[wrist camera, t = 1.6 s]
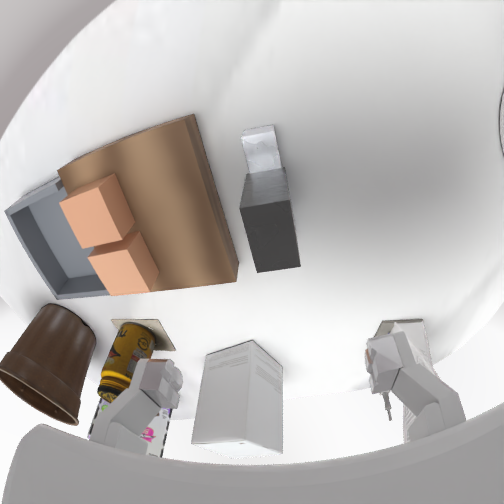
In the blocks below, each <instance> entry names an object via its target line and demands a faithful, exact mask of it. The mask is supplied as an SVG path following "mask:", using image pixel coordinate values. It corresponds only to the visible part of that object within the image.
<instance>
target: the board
mask: <svg viewBox="0 0 504 504" xmlns="http://www.w3.org/2000/svg"><path fill="white" fill-rule="evenodd" d="M57 171H58V174H59V176H60V179H61V181H62V183H63V186H64V188H65V190H66V192H67V195H69V194H70V193H71V192H72V191H74V190H75V189H76V188H79V187H81V186H83V185H86V184H88V183H91V182H93V181H96V180H99V179H101V178H104V177H107V176H109V175H112V174H115V175H116V177H117V180H118V182H119V185H120V187H121V189H122V192H123V194H124V197H125V199H126V201H127V204H128V206H129V208H130V211H131V213H132V215H133V217H134V220H135V223H134V225H133V226H132V227H131V229H130V230H129V231H128V233H133V232H137V231H140V233H141V235H142V237H143V239H144V241H145V244H146V246H147V248H148V250H149V252H150V254H151V256H152V258H153V260H154V262H155V264H156V266H157V268H158V270H159V274H158V276H157V279H156V281H155V283H154V285H153V287H152V290H151V292H155V291H164V290H173V289H182V288H191V287H199V286H208V285H216V284H224V283H232V282H236V280H237V273H238V266H239V262H238V259H237V255H236V252H235V249H234V246H233V243H232V239H231V236H230V233H229V230H228V226H227V223H226V220H225V217H224V213H223V210H222V207H221V203H220V200H219V197H218V194H217V190H216V187H215V184H214V180H213V177H212V174H211V170H210V167H209V163H208V160H207V157H206V153H205V150H204V146H203V143H202V140H201V136H200V133H199V129H198V126H197V122H196V119H195V115H194V114H192V115H188V116H185V117H182V118H178V119H175V120H172V121H169V122H166V123H163V124H160V125H157V126H154V127H151V128H148V129H146V130H143V131H140V132H137V133H135V134H132V135H130V136H127V137H124V138H122V139H119V140H117V141H115V142H112V143H110V144H107V145H105V146H103V147H101V148H98V149H96V150H94V151H92V152H89V153H87V154H85V155H83V156H81V157H79V158H77V159H75V160H73V161H71V162H70V163H68V164H66V165H65V166H63V167H62V168H60V169H59V170H57ZM128 233H127V234H128ZM93 247H94V248H95V247H96V246H93Z"/></svg>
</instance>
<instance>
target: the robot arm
mask: <svg viewBox="0 0 504 504" xmlns="http://www.w3.org/2000/svg"><path fill="white" fill-rule="evenodd" d="M500 134H501V142H502V148H503V152H504V93H503V97H502V103H501V111H500ZM366 344H367V349H366V350H365V364H366V369H367V372H369V373H370V379H369V382H370V387H371V391H372V394H375V393H380V392H385V391H389V390H392V392H393V393H394V394H395V395H396V396H397V397H398V398H399V399H400V400H401V401H402V402H403V404H404V405H405V406H406V407H407V408H408V409H409V410H410V411H411V412H412V413H413V414H414V415H415V416H416V417H417V418H416V419H415V421H414V422H413V423H412V424H411V426H410V427H409V428H408V432H409V437H410V442H408V443H404V444H401V445H398V446H394V447H390V448H386V449H382V450H378V451H374V452H369V453H364V454H360V455H354V456H349V457H344V458H337V459H331V460H323V461H315V462H305V463H293V464H278V465H227V464H210V463H198V462H189V461H181V460H174V459H166V458H161V457H155V456H149V455H146V452H147V447H148V443H147V441H145V440H143V439H142V438H140V437H139V436H140V435H141V434H142V433H143V431H144V430H145V429H146V428H147V426H148V425H149V424H150V423H151V421H152V420H153V419H154V418H155V416H156V415H157V414H158V412H159V411H160V410H161V408H172V409H177V408H178V403H179V398H180V396H179V394H178V391H179V390H180V389H181V388H182V383H183V379H182V374H181V371H180V370H179V369H178V368H176V367H174V362H173V361H172V360H171V359H140V360H139V361H138V362H137V365H136V368H135V371H134V374H133V377H132V380H131V383H130V387H129V388H126V389H125V390H124V391H123V392H122V393H121V394H120V395H119V396H118V397H117V398H116V399H115V400H114V401H113V402H112V403H111V404H110V405H109V406H108V407H106V408H105V409H104V410H103V411H102V412H101V413H100V414H99V415H98V416H97V417H96V419H95V422H94V426H93V429H92V432H91V435H90V439H89V440H86V439H83V438H80V437H77V436H74V435H71V434H69V433H66V432H63V431H61V430H58V429H56V428H53V427H51V426H48V425H45V424H39V425H37V426H36V427H34V428H33V429H32V430H31V431H29V433H27V434H26V435H25V436H24V437H23V438H22V439H21V441H20V443H19V445H18V447H17V449H16V452H15V455H14V458H13V460H12V463H11V467H10V470H9V473H8V477H7V481H6V485H5V489H4V494H3V499H2V504H504V402H503V403H502V404H500V405H498V406H496V407H494V408H492V409H490V410H488V411H487V412H484V413H482V414H480V415H478V416H476V417H474V418H472V419H469V420H467V421H466V418H465V414H464V411H463V408H462V405H461V401H460V399H459V396H458V393H457V392H455V391H454V390H453V389H452V388H450V387H449V386H448V385H446V384H445V383H444V382H443V381H441V380H440V379H439V378H438V377H436V376H435V375H434V374H433V373H431V372H430V371H429V370H427V369H426V368H425V367H424V366H422V365H421V364H420V363H418V364H416V362H415V359H414V356H413V354H412V351H411V348H410V345H409V343H408V340H407V337H406V335H405V333H404V332H403V331H400V332H396V333H392V334H386V335H382V336H378V337H373V338H369V339H368V340H367V343H366Z"/></svg>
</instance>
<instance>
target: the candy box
mask: <svg viewBox="0 0 504 504" xmlns="http://www.w3.org/2000/svg"><path fill="white" fill-rule="evenodd" d="M109 405H110V403H108V402H107V401H105V400H103V399H102V398H100V401H99V404H98V406H97V409H96V412H95V415H94V418H93V421H92V424H91V427H90V430H89V432H88V436H87V438H88V439H90V435H91V432H92V429H93V426H94V422H95V419H96V417H97V416H98V415H99V414H100V413H101V412H102V411H103V410H104V409H105V408H106V407H108V406H109ZM171 413H172V408H161V410H160V411H159V412H158V414H157V415H156V416H155V418H154V419H153V420H152V421H151V423H150V424H149V425H148V426H147V428H146V429H145V430H144V431H143V433H142V434H141V435H140V436H139V437H140V438H142V439H143V440H145V441H147V443H148V447H147V452H146V455H149V456H155V457H161V458H162V455H163V449H164V445H165V440H166V436H167V431H168V426H169V423H170V418H171Z"/></svg>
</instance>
